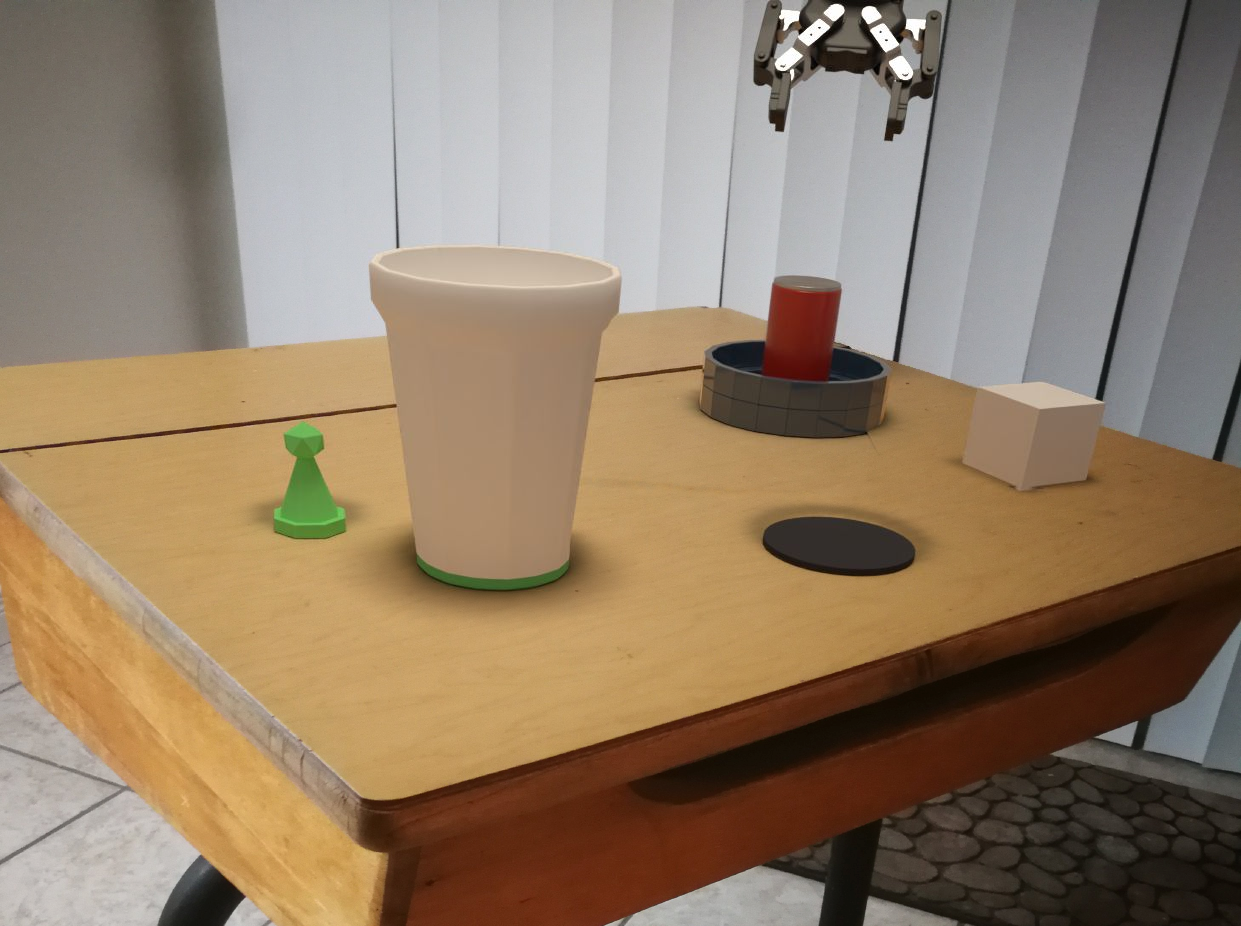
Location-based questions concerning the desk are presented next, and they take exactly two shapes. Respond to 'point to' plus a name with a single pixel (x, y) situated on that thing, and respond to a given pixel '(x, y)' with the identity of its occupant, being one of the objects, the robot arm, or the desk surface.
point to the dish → (793, 393)
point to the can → (801, 328)
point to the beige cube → (1032, 434)
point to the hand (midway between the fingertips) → (834, 128)
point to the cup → (493, 400)
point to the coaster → (838, 545)
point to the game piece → (307, 491)
